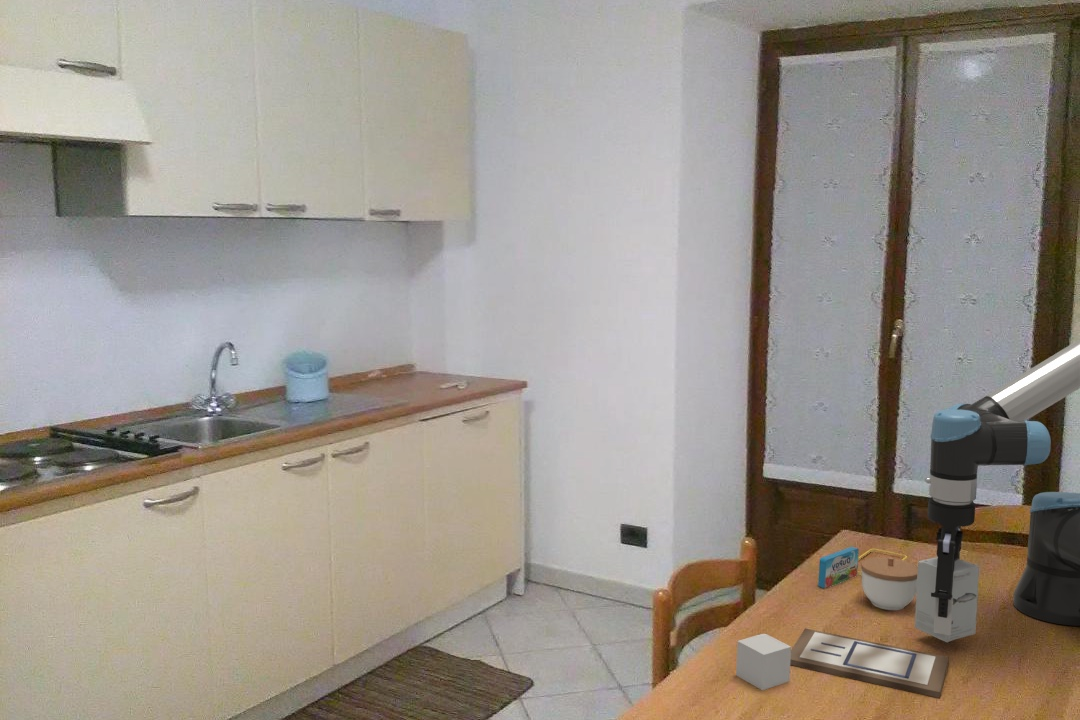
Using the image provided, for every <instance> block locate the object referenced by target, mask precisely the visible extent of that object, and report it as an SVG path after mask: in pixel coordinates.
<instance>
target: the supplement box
mask: <svg viewBox="0 0 1080 720" xmlns="http://www.w3.org/2000/svg"><path fill="white" fill-rule="evenodd" d="M937 559H938V557H937V556H935V557H934V556H933V557H931V558H926V559H922V560H919V561H918V562H917V567H918V574H917V592H916V595H915V596H916V597H915V599H916V600H915V611H914V612H915V615H914V628H915V629H917V630H919V631H921V632H923V633H925V634H927V635H930V636H932V637H934V638H936V639H939V640H941V641H943V642H945V643H949V642H952V641H955V640H958V639H962V638H965V637H968V636H973V635H975V634H976V627H977V615H978V614H977V613H978V598H979V584H980V583H979V580H980V579H979V578H980V565H977V564H974V563H971V562H970V561H966V560H963V559H958V560H956V561H955V565H954V572H953V587H952V598H953V604H952V623H951V635H945V634H939V633H933V632H934V612H935V597H931V593H934V592H935V586H936V573H937ZM940 591H942V590H940ZM944 592H947V591H944Z"/></svg>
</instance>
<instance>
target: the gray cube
mask: <svg viewBox="0 0 1080 720" xmlns="http://www.w3.org/2000/svg"><path fill="white" fill-rule="evenodd" d="M791 649H792V645H791V646H790V645H788V644H787V643H785V642H783V641H781V640H778V639H777V638H775V637H773V636H771V635H769V634H766V633H765V632H764V633H761V634H757V635H753V636H749V637H747V638H743V639H740V640H737V645H736V664H735V665H736V666H735V676H736V677H738V678H740V679H741V680H743V681H745V682H747V683H748V684H750V685H752V686H754V687H755V688H758V689H759V690H761V691H764V690H768V689H770V688H773V687H777V686H779V685H783V684H786V683H789V682H790V676H791V665H790V660H791Z"/></svg>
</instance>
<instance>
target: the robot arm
mask: <svg viewBox="0 0 1080 720" xmlns="http://www.w3.org/2000/svg"><path fill="white" fill-rule="evenodd" d="M1079 389H1080V338H1079V339H1078V340H1076V341H1074V342H1073V343H1071V344H1069V345H1067V346H1066V347H1064V348H1063V349H1061V350H1059V351H1058V352H1056V353H1055V354H1053V355H1051V356H1049V357H1048V358H1046V359H1045V360H1043V361H1041V362H1039V363H1038V364H1036V365H1034V366H1033V367H1031V368H1030V369H1028V370H1026V371H1025V372H1023V373H1021V374H1020V375H1018V376H1016V377H1015V378H1013V379H1012V380H1010V381H1008V382H1006V383H1005V384H1003V385H1002V386H1000V387H999V388H997V389H995V390H993V391H992V392H990V393H988V394H987V395H985V396H984V397H981V398H980V399H978V400H976V401H975V402H973V403H972V404H970V403H957V404H954V405H952V406H951V407H949V408H948V409H947V408H946V409H940V410H938V411H936V412H935V413H934V414H933V418H932V424H931V431H930V432H931V433H930V463H929V464H930V466H929V467H930V470H929V477H927V478H926V479H925V483H926V484H930V485H929V487H928V495H929V497H930V498H929V499H928V500H927V501H928V502H927V503H928V504H927V518H928V520H929V521H931V522H932V523H934V524H938V525H939V526H941V528H940V527H939V528H938V531H937V532H936V537H935V538H936V542H937V544H936V545H937V546H936V557H938V559H937V573H936V586H935V592H934V593H931V597H935V612H934V632H933V633H939V634H945V635H951V623H952V604H953V598H952V587H953V572H954V565H955V561H956V560H958V559H960V558H961V551H962V541H963V538H964V531H963V530H961V529H962V528H961V527H963V528H964V527H969V526H972V525H973V524H974V523H975V521H976V519H975V518H976V517H975V516H976V515H975V514H976V504H975V502H974V501H976V499H977V490H978V489H977V488H978V487H977V486H978V485H977V484H978V469H979V466H980V467H981V466H1024V467H1025V466H1028V465H1037V464H1042V463H1043V462H1045V461H1046V460H1047V459H1048V457H1049V456H1050V452H1051V444H1052V443H1051V442H1052V441H1051V435H1050V432H1049V430H1048V429H1047V427H1046V425H1044V424H1043V423H1042V422H1040V421H1037V420H1035V421H1034V420H1030V419H1031V418H1033V417H1034V416H1036V415H1038V414H1039V413H1040V412H1042V411H1044V410H1046V409H1047V408H1049V407H1051V406H1053V405H1054V404H1056V403H1058V402H1059V401H1061V400H1063V399H1064V398H1066V397H1068V396H1069V395H1071V394H1073V393H1074V392H1077V391H1078V390H1079ZM1029 514H1030V516H1029V517H1030V519H1029V530H1028V541H1027V554H1026V564H1025V568H1024V570H1023V572H1022V574H1021V577H1020V579H1019V581H1018V583H1017V585H1016V587H1015V588H1014V592H1013V600H1012V604H1013V606H1014V607H1015V609H1017V610H1018V611H1019V612H1021V613H1023V614H1024V615H1026V616H1029V617H1030V618H1034V619H1037V620H1040V621H1043V622H1048V623H1050V624H1051V623H1052V624H1056V625H1063V626H1064V625H1065V626H1073V627H1076V626H1077V627H1080V493H1078V492H1069V491H1068V492H1066V491H1065V492H1064V491H1045V492H1040V493H1038V494H1037V493H1036V494H1035V495H1034V496H1033V498H1032V501H1031V507H1030V510H1029ZM960 560H961V559H960ZM940 590H942V591H940ZM944 591H947V592H944Z"/></svg>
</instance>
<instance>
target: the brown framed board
mask: <svg viewBox="0 0 1080 720" xmlns="http://www.w3.org/2000/svg"><path fill="white" fill-rule="evenodd" d="M949 661H950V657H947V656H944V655H938V654H933V653H929V652H923V651H919V650H915V649H914V650H913V649H908V648H904V647H900V646H899V647H898V646H895V645H888V644H884V643H878V642H874V641H868V640H864V639H859V638H854V637H849V636H845V635H840V634H837V633H831V632H830V633H829V632H824V631H821V630H815V629H811V628H807V627H805V628H804V629H803V631H802V632H801V634H800V636H799V637H798V639H797V640H796V642H795V643H794V645H793V647H791V660H790V666H793V667H798V668H801V669H802V668H803V669H807V670H811V671H816V672H821V673H825V674H829V675H834V676H839V677H842V678H848V679H852V680H855V681H860V682H865V683H869V684H874V685H879V686H884V687H888V688H893V689H897V690H902V691H904V692H905V691H906V692H910V693H914V694H919V695H923V696H928V697H932V698H937V699H940V697H941V693H942V690H943V686H944V682H945V678H946V675H947V671H948V666H949Z"/></svg>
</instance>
